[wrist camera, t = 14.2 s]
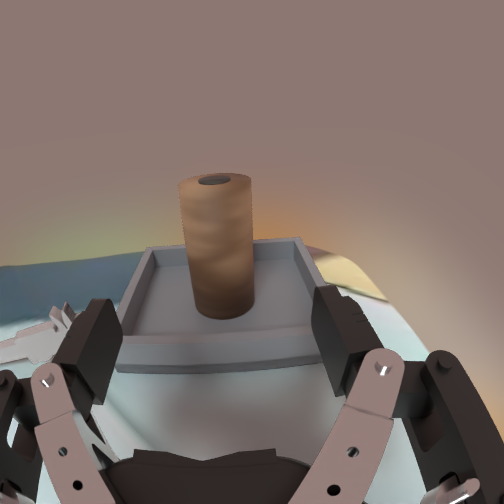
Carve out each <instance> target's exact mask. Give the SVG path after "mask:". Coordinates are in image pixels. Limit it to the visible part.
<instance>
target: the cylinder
mask: <svg viewBox="0 0 504 504" xmlns="http://www.w3.org/2000/svg"><path fill="white" fill-rule="evenodd" d="M178 189H179V199H180V207H181V215H182V223H183V229H184V230H183V231H184V238H185V245H186V252H187V258H188V265H189V271H190V277H191V283H192V289H193V295H194V301H195V306H196V309H197V310H198V312H199V313H201V314H202V315H204V316H205V317H208V318H211V319H216V320H228V319H234V318H237V317H240V316H242V315H244V314H246V313H247V312H248V311H249V310H250V309H251V308H252V307H253V305H254V302H255V293H254V260H253V227H252V197H251V196H252V194H251V178H250V177H248V176H246V175H241V174H233V173H217V174H207V175H200V176H195V177H192V178H188V179H186V180H183V181H181V182H180V183H179V184H178Z"/></svg>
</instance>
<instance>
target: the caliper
mask: <svg viewBox="0 0 504 504" xmlns="http://www.w3.org/2000/svg"><path fill="white" fill-rule="evenodd" d="M80 313H81V312H80ZM80 313H76V314H75V313H74V311H73V310H72V308H71V307H70V306H69V304H68V303H67V301H66V302H65V304H64V306H63V309H62V311H61V310H60V309H58V308H57V307H55V306H53V307H52V309H51V311H50V314H49V317H50V318H51V319H52V320H51V321H48V322H45V323H42V324H39V325H36V326H33V327H30V328H27V329H24V330H21V331H18V332H17V334H16V336H15V338H12V339H8V340H5V341H1V342H0V363H5V362H10V361H14V360H19V359H23V358H28V359H29V360H30V361H31V362H32V363H33V364H37V363H38V362H40V361H48V360H49V359H50V358H52V357H53V355H55V354H56V353H57V351H58V349H59V347H60V345H61V343H62V341H63V339H64V337H66V336H65V335H66V333H67V331H68V330H69V328H70V326H71V324H72V322H73V320H74V319H75V318H76V317H77V316H78V315H79V314H80Z"/></svg>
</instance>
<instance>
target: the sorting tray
mask: <svg viewBox="0 0 504 504" xmlns="http://www.w3.org/2000/svg"><path fill="white" fill-rule="evenodd" d="M253 260H254V293H255V302H254V305H253V307H252V308H251V309H250V310H249V311H248V312H247V313H246V314H244V315H242V316H240V317H237V318H234V319H228V320H216V319H211V318H208V317H205V316H204V315H202V314H201V313H199V312H198V310H197V309H196V306H195V301H194V295H193V289H192V283H191V277H190V271H189V265H188V258H187V252H186V245H172V246H160V247H147V248H146V250H145V252H144V254H143V256H142V258H141V260H140V262H139V264H138V266H137V268H136V270H135V272H134V274H133V276H132V278H131V281H130V283H129V285H128V287H127V289H126V291H125V293H124V296H123V298H122V300H121V302H120V304H119V307H118V309H117V311H116V314H117V317H118V319H119V322H120V324H121V327H122V331H123V341H122V345H121V348H120V351H119V354H118V357H117V360H116V363H115V368H116V370H117V372H123V373H145V374H203V373H226V372H242V371H254V370H265V369H275V368H284V367H292V366H300V365H307V364H314V363H321V362H323V360H322V357H321V354H320V351H319V349H318V346H317V343H316V340H315V338H314V335H313V332H312V327H311V313H312V305H313V296H314V289H315V287H316V286H326V283H325V281H324V279H323V278H322V276H321V274H320V272H319V270H318V268H317V267H316V265H315V263H314V261H313V259H312V257H311V256H310V254H309V252H308V250H307V248H306V247H305V245H304V243H303V241H302V239H301V238H300V237H295V238H277V239H261V240H253Z"/></svg>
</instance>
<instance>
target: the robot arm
mask: <svg viewBox="0 0 504 504" xmlns="http://www.w3.org/2000/svg"><path fill="white" fill-rule="evenodd" d="M311 327H312V332H313V335H314V338H315V340H316V343H317V346H318V349H319V351H320V354H321V357H322V360H323V363H324V365H325V368H326V371H327V374H328V377H329V379H330V382H331V385H332V388H333V391H334V394H335V397H338V396H342V395H345V396H346V399H347V400H346V402H345V404H344V406H343V408H342V410H341V412H340V414H339V416H338V418H337V420H336V422H335V424H334V426H333V428H332V430H331V432H330V434H329V436H328V438H327V440H326V441H325V443H324V445H323V447H322V449H321V451H320V452H319V454H318V456H317V458H316V460H315V461H314V463H313V465H312V466H310V465H308V464H306V463H303V462H301V461H298V460H295V459H291V458H286V457H279V456H276V450H275V449H267V450H256V451H244V452H237V453H233V454H229V455H226V456H222V457H218V458H214V459H210V460H205V461H199V460H195V459H191V458H187V457H183V456H179V455H176V454H172V453H169V452H161V451H149V450H139V449H134V454H133V457H131V458H127V459H123V460H119V458H118V457H117V456H116V454H115V453H114V452H113V450H112V449H111V447H110V446H109V444H108V442H107V440H106V438H105V436H104V434H103V432H102V430H101V428H100V426H99V424H98V422H97V420H96V418H95V416H94V414H93V412H92V411H91V407H92V404H96V405H103V404H104V400H105V397H106V393H107V390H108V386H109V383H110V379H111V376H112V373H113V370H114V366H115V363H116V360H117V357H118V354H119V351H120V348H121V345H122V341H123V331H122V327H121V324H120V322H119V319H118V317H117V314H116V311H115V308H114V306H113V303H112V301H111V300H110V299H92V300H91V301H90V303H89V305H88V307H87V308H86V310H85V311H82V312H81V313H80V314H79V315H78V316H77V317H76V318H75V319H74V320H73V322H72V324H71V326H70V328H69V330H68V331H67V333H66V335H65V336H66V337H64V339H63V341H62V343H61V345H60V347H59V349H58V351H57V353H56V355H55V357H54V359H53V361H52V363H46V364H43V365H41V366H40V367H38V368H37V369H36V370H35V371H34V373H33V375H32V377H30V378H24V379H17V377H16V376H15V375H14V373H13V372H12V371H10V370H2V371H0V504H36V498H37V491H38V484H39V478H40V473H41V467H42V462H43V460H44V463H45V466H46V469H47V471H48V474H49V477H50V479H51V482H52V484H53V487H54V489H55V491H56V494H57V496H58V498H59V500H60V502H61V504H367V503H366V502H364V501H363V500H364V498H365V496H366V493H367V491H368V489H369V487H370V485H371V482H372V480H373V478H374V475H375V473H376V471H377V468H378V466H379V463H380V461H381V458H382V455H383V453H384V450H385V447H386V444H387V442H388V439H389V436H390V433H391V430H392V427H393V422H394V420H393V419H391V418H401V419H402V421H403V424H404V427H405V429H406V432H407V435H408V437H409V440H410V443H411V446H412V449H413V451H414V454H415V457H416V460H417V463H418V466H419V469H420V472H421V475H422V478H423V482H424V485H425V488H426V491H427V493H426V494H425V495H424V497H423V498H422V500H421V502H420V504H504V443H503V441H502V439H501V436H500V434H499V432H498V430H497V428H496V426H495V424H494V422H493V420H492V418H491V417H490V414H489V412H488V410H487V409H486V406H485V405H484V403H483V401H482V399H481V397H480V395H479V394H478V392H477V390H476V389H475V387H474V385H473V383H472V382H471V380H470V378H469V376H468V375H467V374H466V372H465V370H464V368H463V367H462V365H461V364H460V362H459V360H458V359H457V358H456V357H455V356H454V355H453V354H451V353H450V352H447V351H443V350H437V351H434V352H432V353H430V354H429V356H428V357H427V359H426V361H403V360H402V358H401V357H400V356H399V355H398V354H397V353H396V352H394V351H392V350H389V349H385V348H384V347H383V345H382V343H381V341H380V340H379V338H378V336H377V334H376V333H375V331H374V329H373V328H372V326H371V324H370V323H369V322H368V319H367V317H366V316H365V314H363V311H362V309H361V308H360V306H359V304H358V303H357V302H356V301H354V300H353V299H352V298H350V297H349V296H344V297H342V296H341V294H340V292H339V291H338V289H337V287H336V286H335V285H326V286H316V287H315V289H314V296H313V305H312V313H311ZM12 418H14V419H15V420H16V421H17V422H18V423H19V424H18V427H17V430H16V434H15V437H14V441H13V444H12V448H10V446H9V445H8V442H7V433H8V430H9V427H10V424H11V421H12Z"/></svg>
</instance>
